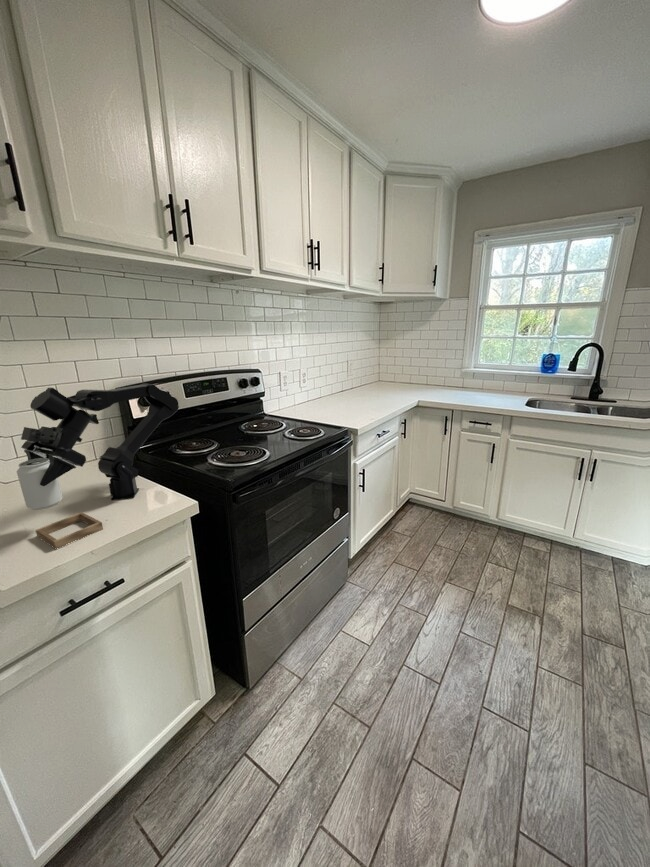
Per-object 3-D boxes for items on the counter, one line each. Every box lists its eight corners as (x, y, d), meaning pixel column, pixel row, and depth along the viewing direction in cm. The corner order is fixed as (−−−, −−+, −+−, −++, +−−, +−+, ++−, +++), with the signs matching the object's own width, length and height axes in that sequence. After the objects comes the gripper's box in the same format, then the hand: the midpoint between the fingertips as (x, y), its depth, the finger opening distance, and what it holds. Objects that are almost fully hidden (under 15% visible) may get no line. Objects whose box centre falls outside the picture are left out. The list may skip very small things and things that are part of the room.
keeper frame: (83, 518, 97) (81, 512, 97) (103, 529, 92) (101, 522, 91) (37, 536, 88) (35, 529, 88) (56, 549, 83) (54, 542, 82)
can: (56, 495, 96) (45, 454, 93) (68, 502, 92) (57, 459, 89) (22, 506, 90) (9, 463, 87) (33, 514, 86) (21, 469, 83)
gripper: (20, 410, 92) (-21, 464, 85) (62, 416, 84) (20, 476, 78) (60, 431, 101) (25, 481, 94) (101, 439, 93) (66, 494, 87)
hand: (33, 482), depth 88 cm, fingers closed on can, 7 cm apart
